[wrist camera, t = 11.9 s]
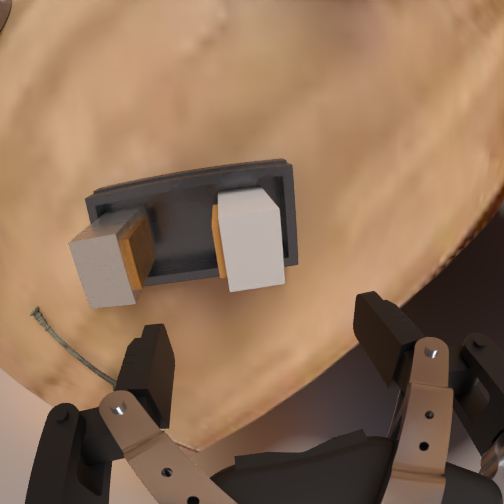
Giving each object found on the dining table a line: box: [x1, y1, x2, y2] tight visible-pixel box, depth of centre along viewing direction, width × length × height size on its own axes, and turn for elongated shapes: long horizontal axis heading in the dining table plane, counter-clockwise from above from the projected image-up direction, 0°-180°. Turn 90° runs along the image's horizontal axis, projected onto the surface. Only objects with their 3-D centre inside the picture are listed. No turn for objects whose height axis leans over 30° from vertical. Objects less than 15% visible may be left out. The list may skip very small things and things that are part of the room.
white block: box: [212, 186, 285, 292], centre depth 22 cm, size 4×5×8 cm
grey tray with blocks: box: [69, 159, 298, 309], centre depth 22 cm, size 17×9×10 cm, turn 96°
